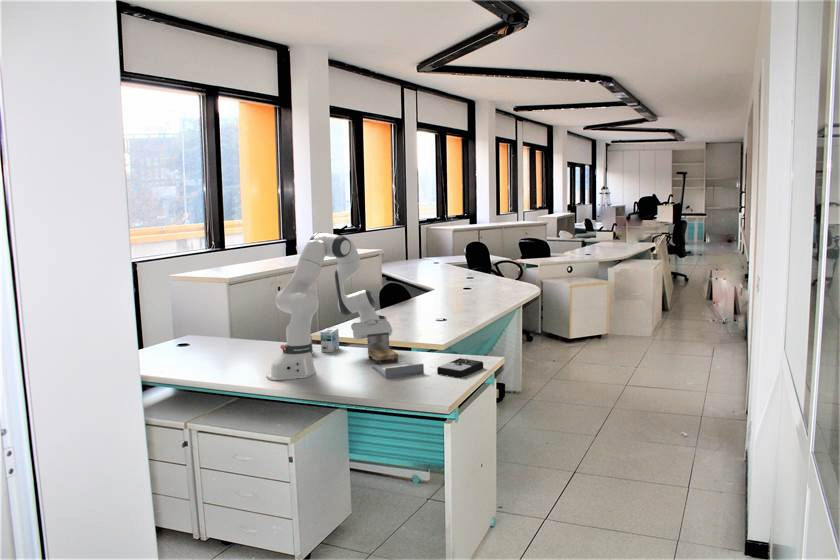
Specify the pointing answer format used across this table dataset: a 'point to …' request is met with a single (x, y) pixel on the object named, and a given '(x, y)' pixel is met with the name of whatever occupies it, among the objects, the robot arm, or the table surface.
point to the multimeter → (460, 367)
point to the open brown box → (380, 347)
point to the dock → (399, 369)
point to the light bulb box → (329, 340)
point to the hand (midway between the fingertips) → (376, 343)
